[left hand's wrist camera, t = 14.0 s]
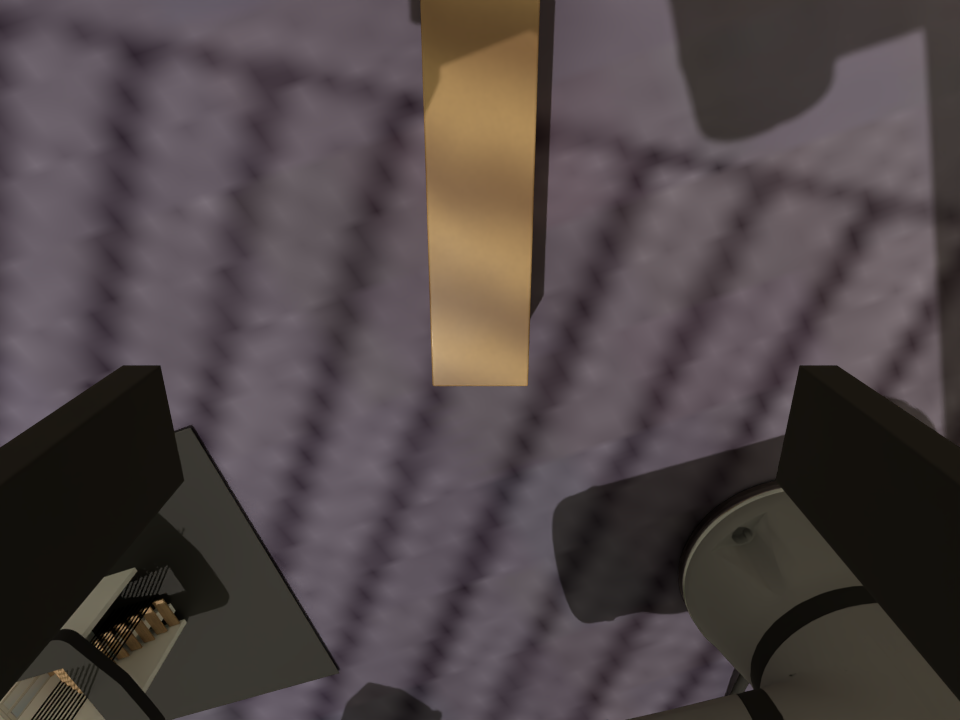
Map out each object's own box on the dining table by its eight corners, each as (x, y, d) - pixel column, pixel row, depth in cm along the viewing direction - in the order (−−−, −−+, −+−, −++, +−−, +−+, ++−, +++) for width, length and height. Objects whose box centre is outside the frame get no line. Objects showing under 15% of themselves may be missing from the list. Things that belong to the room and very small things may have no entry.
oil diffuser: (69, 747, 52) (-112, 1022, 36) (-120, 534, 43) (-463, 768, 28) (339, 673, 49) (271, 937, 33) (190, 427, 40) (3, 622, 24)
